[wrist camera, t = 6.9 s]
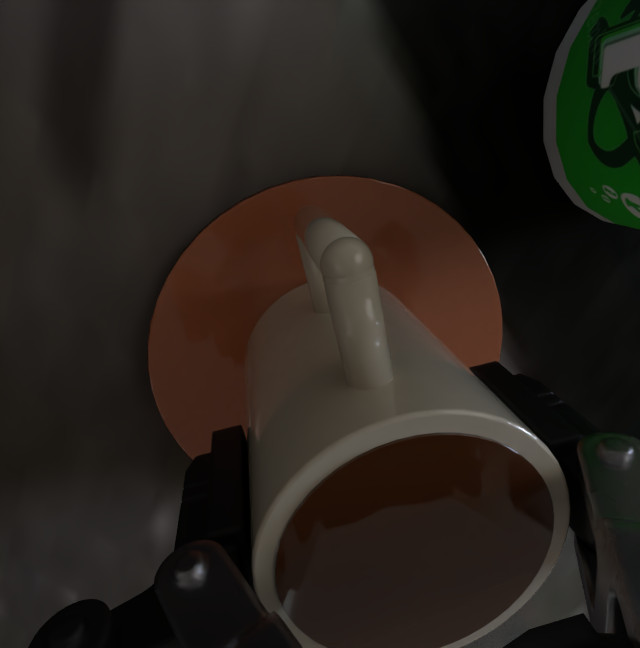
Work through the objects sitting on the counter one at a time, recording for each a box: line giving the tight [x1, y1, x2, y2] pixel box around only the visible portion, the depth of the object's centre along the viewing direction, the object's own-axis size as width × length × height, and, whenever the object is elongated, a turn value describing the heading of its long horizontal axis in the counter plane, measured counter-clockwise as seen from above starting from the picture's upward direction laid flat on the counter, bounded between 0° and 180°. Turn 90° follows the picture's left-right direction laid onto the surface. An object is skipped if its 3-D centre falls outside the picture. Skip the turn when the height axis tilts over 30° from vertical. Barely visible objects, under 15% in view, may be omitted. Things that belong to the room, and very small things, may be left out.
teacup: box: [148, 175, 571, 648], centre depth 13 cm, size 12×12×9 cm
